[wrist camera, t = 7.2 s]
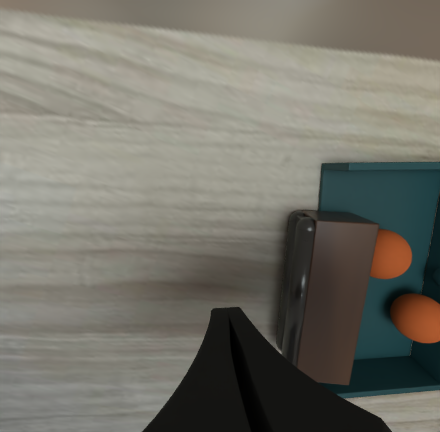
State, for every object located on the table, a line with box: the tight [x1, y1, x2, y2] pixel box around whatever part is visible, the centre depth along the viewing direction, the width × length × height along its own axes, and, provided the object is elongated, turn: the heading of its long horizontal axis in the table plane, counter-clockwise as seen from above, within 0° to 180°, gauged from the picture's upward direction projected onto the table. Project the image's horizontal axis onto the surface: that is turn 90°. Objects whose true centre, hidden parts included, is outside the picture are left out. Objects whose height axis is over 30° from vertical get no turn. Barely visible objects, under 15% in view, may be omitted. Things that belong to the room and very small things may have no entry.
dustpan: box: [318, 162, 440, 398], centre depth 15 cm, size 15×15×3 cm
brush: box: [276, 210, 379, 385], centre depth 15 cm, size 3×10×4 cm
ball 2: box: [390, 293, 440, 343], centre depth 15 cm, size 3×3×3 cm
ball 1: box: [370, 229, 412, 279], centre depth 14 cm, size 3×3×3 cm
